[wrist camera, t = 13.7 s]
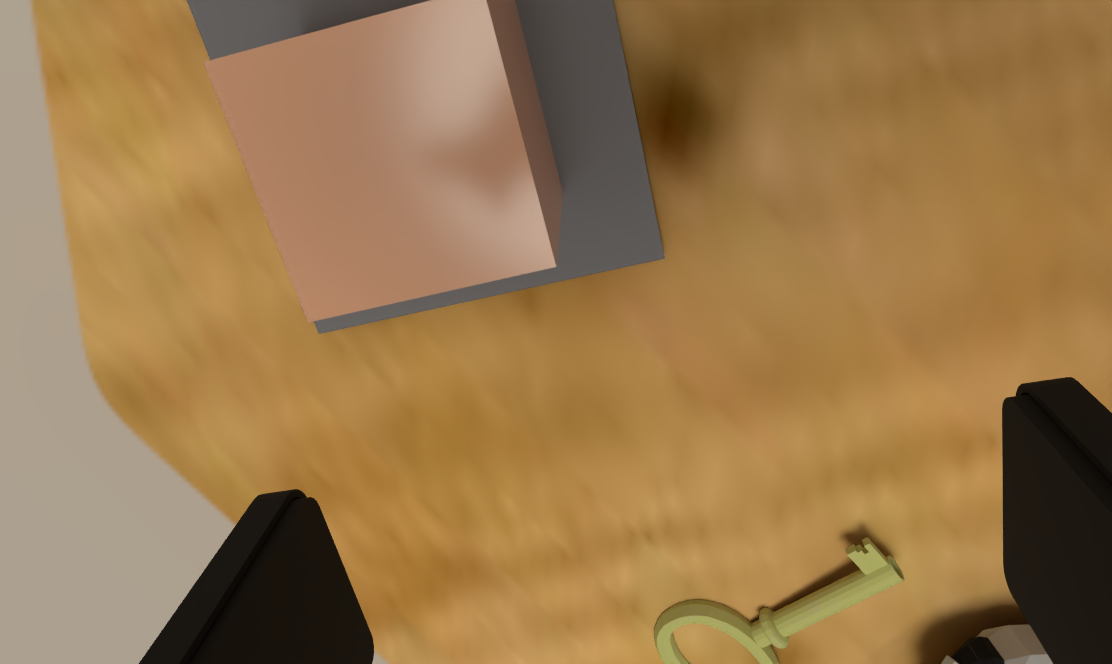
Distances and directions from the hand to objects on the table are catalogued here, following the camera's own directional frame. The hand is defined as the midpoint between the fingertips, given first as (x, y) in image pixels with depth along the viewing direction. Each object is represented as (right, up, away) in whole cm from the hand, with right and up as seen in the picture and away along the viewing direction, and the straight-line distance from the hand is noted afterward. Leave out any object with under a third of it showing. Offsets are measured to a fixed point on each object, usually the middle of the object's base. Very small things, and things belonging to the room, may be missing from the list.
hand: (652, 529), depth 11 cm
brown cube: (-6, +10, +18) cm, 21 cm away
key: (+9, -11, +28) cm, 31 cm away
